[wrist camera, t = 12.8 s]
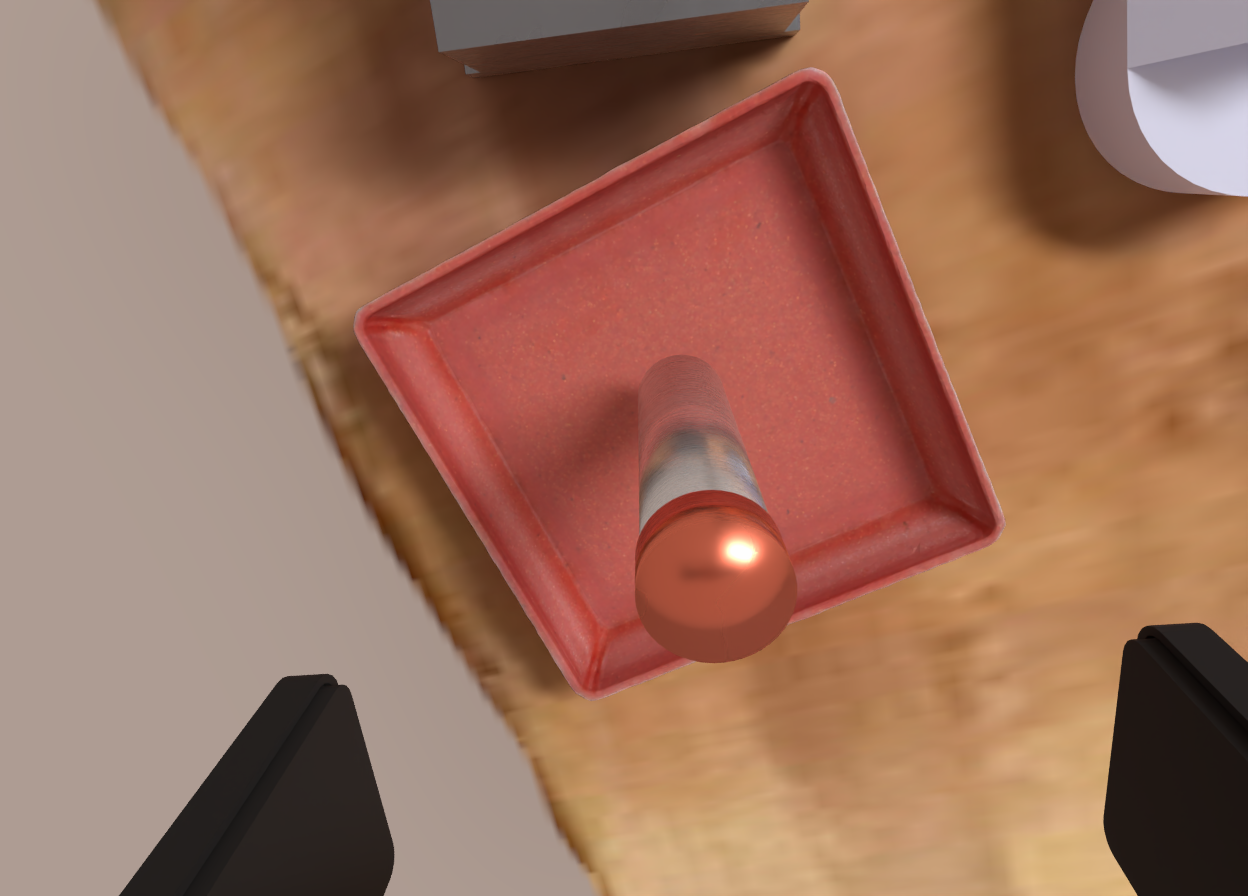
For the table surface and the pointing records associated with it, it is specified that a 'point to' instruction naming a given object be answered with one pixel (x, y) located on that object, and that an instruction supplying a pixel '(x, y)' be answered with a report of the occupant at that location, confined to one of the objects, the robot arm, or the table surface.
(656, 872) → the table surface
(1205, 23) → the wedge on round base
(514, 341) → the plant saucer
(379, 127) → the table surface
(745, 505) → the pin
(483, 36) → the block
